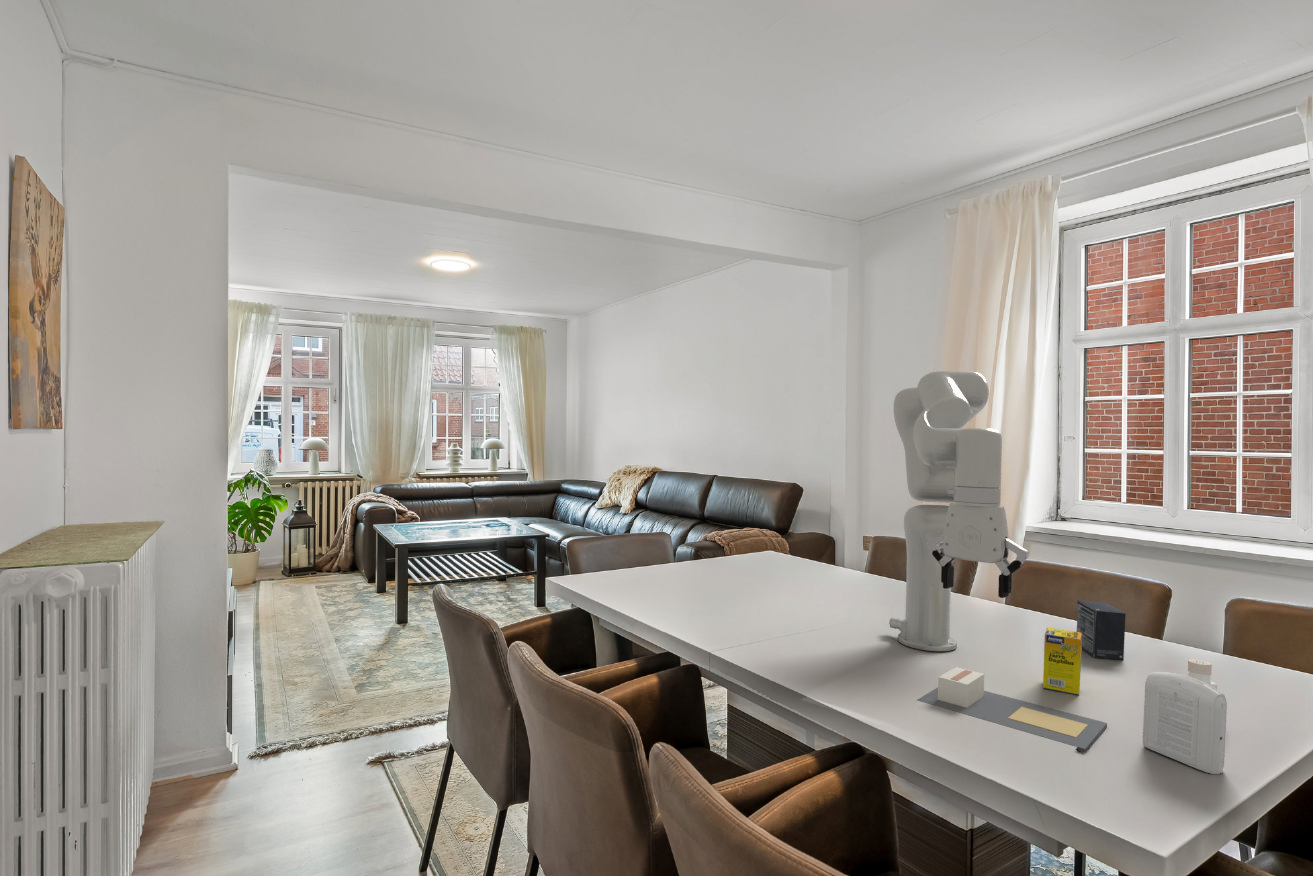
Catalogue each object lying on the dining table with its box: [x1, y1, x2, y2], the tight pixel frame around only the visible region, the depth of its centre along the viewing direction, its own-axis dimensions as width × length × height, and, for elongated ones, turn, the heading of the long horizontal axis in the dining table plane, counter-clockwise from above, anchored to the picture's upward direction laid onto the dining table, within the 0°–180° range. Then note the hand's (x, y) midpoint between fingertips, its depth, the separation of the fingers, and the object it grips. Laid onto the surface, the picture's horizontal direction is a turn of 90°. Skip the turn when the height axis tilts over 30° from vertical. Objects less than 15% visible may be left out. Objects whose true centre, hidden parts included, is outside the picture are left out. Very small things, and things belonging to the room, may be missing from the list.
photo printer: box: [1142, 671, 1228, 775], centre depth 104 cm, size 10×4×12 cm, turn 24°
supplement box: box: [1042, 627, 1083, 697], centre depth 132 cm, size 6×6×11 cm
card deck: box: [937, 666, 985, 708], centre depth 125 cm, size 5×8×4 cm, turn 136°
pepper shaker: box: [1187, 658, 1218, 690], centre depth 121 cm, size 4×4×10 cm
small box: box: [1076, 599, 1127, 661], centre depth 157 cm, size 11×6×10 cm, turn 168°
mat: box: [916, 687, 1108, 754], centre depth 120 cm, size 26×14×1 cm, turn 46°
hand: (975, 592), depth 126 cm, fingers open, 9 cm apart
